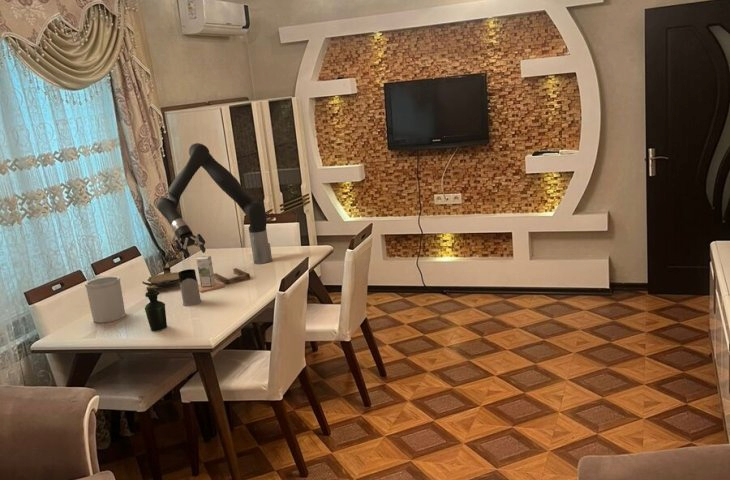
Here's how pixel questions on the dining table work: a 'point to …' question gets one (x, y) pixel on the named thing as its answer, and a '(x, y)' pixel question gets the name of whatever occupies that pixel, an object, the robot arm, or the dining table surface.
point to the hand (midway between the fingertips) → (196, 254)
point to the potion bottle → (155, 310)
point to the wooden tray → (240, 277)
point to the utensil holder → (105, 298)
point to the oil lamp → (164, 278)
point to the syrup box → (205, 271)
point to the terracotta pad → (211, 287)
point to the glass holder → (189, 287)
